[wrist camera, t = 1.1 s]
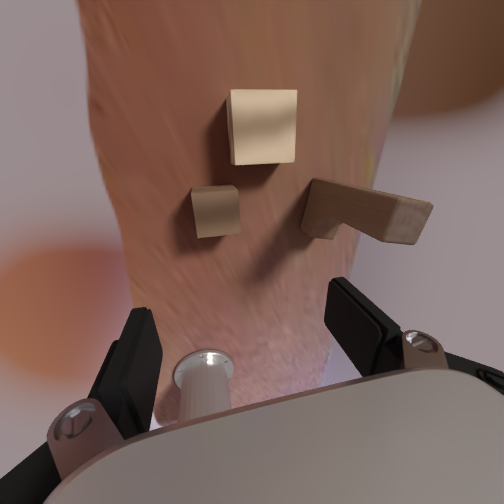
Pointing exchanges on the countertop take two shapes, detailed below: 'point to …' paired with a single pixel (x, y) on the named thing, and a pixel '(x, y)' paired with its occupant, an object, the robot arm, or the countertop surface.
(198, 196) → the walnut cube
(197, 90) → the countertop surface
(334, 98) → the countertop surface
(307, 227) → the wooden block
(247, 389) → the countertop surface
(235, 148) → the oak block
